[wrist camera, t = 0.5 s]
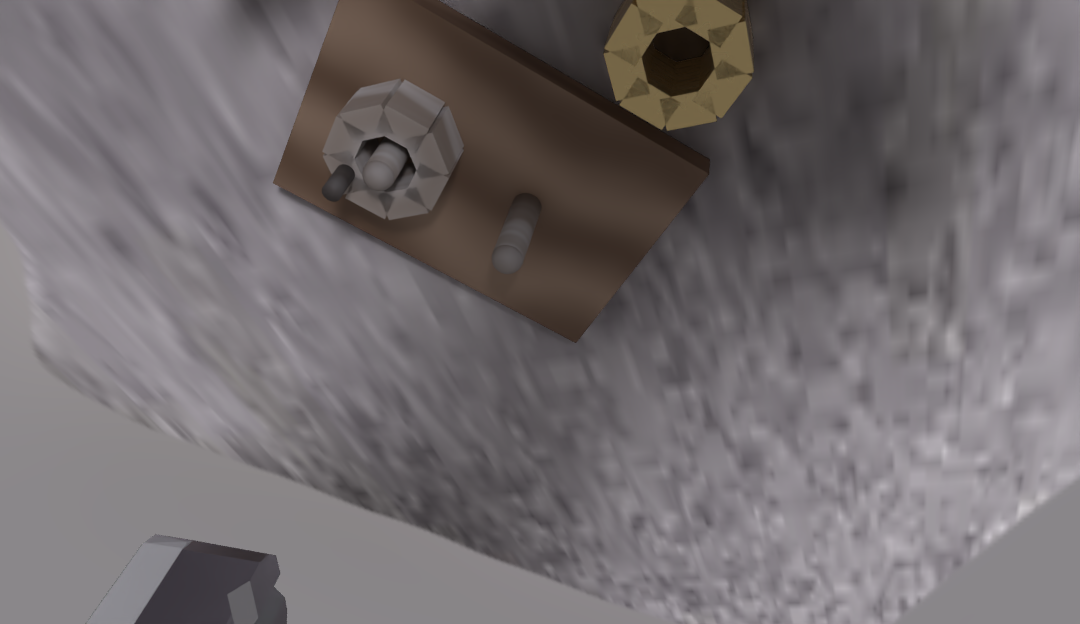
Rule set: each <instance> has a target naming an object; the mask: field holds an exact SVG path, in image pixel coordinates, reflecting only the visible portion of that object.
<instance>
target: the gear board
mask: <svg viewBox="0 0 1080 624" xmlns="http://www.w3.org/2000/svg"><path fill="white" fill-rule="evenodd" d="M709 167H710V160H709V159H708V158H706V157H704V156H703V155H701V154H699V153H698V152H696V151H694V150H692V149H691V148H689V147H687V146H686V145H684V144H682V143H680V142H679V141H677V140H675V139H674V138H672V137H670V136H669V135H667V134H665V133H663V132H662V131H660V130H658V129H657V128H655V127H653V126H652V125H650V124H648V123H646V122H645V121H643V120H641V119H640V118H638V117H636V116H635V115H633V114H631V113H629V112H628V111H626V110H624V109H623V108H621V107H619V106H617V105H616V104H614V103H612V102H611V101H609V100H607V99H606V98H604V97H602V96H600V95H599V94H597V93H595V92H594V91H592V90H590V89H589V88H587V87H585V86H583V85H582V84H580V83H578V82H577V81H575V80H573V79H572V78H570V77H568V76H566V75H565V74H563V73H561V72H560V71H558V70H556V69H554V68H553V67H551V66H549V65H548V64H546V63H544V62H543V61H541V60H539V59H537V58H536V57H534V56H532V55H531V54H529V53H527V52H526V51H524V50H522V49H520V48H519V47H517V46H515V45H514V44H512V43H510V42H509V41H507V40H505V39H503V38H502V37H500V36H498V35H497V34H495V33H493V32H492V31H490V30H488V29H486V28H485V27H483V26H481V25H480V24H478V23H476V22H474V21H473V20H471V19H469V18H468V17H466V16H464V15H463V14H461V13H459V12H457V11H456V10H454V9H452V8H451V7H449V6H447V5H446V4H444V3H442V2H440V1H439V0H339V1H338V4H337V7H336V10H335V12H334V15H333V18H332V21H331V23H330V26H329V29H328V32H327V34H326V37H325V40H324V43H323V46H322V48H321V51H320V54H319V57H318V59H317V62H316V65H315V68H314V71H313V73H312V76H311V79H310V82H309V84H308V87H307V90H306V93H305V95H304V98H303V101H302V104H301V107H300V109H299V112H298V115H297V118H296V120H295V123H294V126H293V129H292V132H291V134H290V137H289V140H288V143H287V145H286V148H285V151H284V154H283V157H282V159H281V162H280V165H279V168H278V170H277V173H276V176H275V179H274V181H273V183H274V184H276V185H278V186H279V187H281V188H283V189H285V190H287V191H289V192H291V193H293V194H295V195H296V196H298V197H300V198H302V199H304V200H306V201H308V202H310V203H312V204H313V205H315V206H317V207H319V208H321V209H323V210H325V211H327V212H329V213H331V214H332V215H334V216H336V217H338V218H340V219H342V220H344V221H346V222H348V223H349V224H351V225H353V226H355V227H357V228H359V229H361V230H363V231H365V232H366V233H368V234H370V235H372V236H374V237H376V238H378V239H380V240H382V241H384V242H385V243H387V244H389V245H391V246H393V247H395V248H397V249H399V250H401V251H402V252H404V253H406V254H408V255H410V256H412V257H414V258H416V259H418V260H420V261H421V262H423V263H425V264H427V265H429V266H431V267H433V268H435V269H437V270H438V271H440V272H442V273H444V274H446V275H448V276H450V277H452V278H454V279H455V280H457V281H459V282H461V283H463V284H465V285H467V286H469V287H471V288H473V289H474V290H476V291H478V292H480V293H482V294H484V295H486V296H488V297H490V298H491V299H493V300H495V301H497V302H499V303H501V304H503V305H505V306H507V307H509V308H510V309H512V310H514V311H516V312H518V313H520V314H522V315H524V316H526V317H527V318H529V319H531V320H533V321H535V322H537V323H539V324H541V325H543V326H544V327H546V328H548V329H550V330H552V331H554V332H556V333H558V334H560V335H562V336H563V337H565V338H567V339H569V340H571V341H573V342H575V343H576V342H577V341H578V340H579V338H580V337H581V336H582V335H583V333H584V332H585V331H586V330H587V328H588V327H589V326H590V325H591V323H592V322H593V321H594V319H595V318H596V317H597V316H598V314H599V313H600V312H601V311H602V309H603V308H604V307H605V306H606V304H607V303H608V302H609V300H610V299H611V298H612V297H613V295H614V294H615V293H616V292H617V290H618V289H619V288H620V286H621V285H622V284H623V283H624V281H625V280H626V279H627V278H628V276H629V275H630V274H631V273H632V271H633V270H634V269H635V267H636V266H637V265H638V264H639V262H640V261H641V260H642V259H643V257H644V256H645V255H646V253H647V252H648V251H649V250H650V248H651V247H652V246H653V245H654V243H655V242H656V241H657V240H658V238H659V237H660V236H661V234H662V233H663V232H664V231H665V229H666V228H667V227H668V226H669V224H670V223H671V222H672V221H673V219H674V218H675V217H676V215H677V214H678V213H679V212H680V210H681V209H682V208H683V207H684V205H685V204H686V203H687V201H688V200H689V199H690V198H691V196H692V195H693V194H694V193H695V191H696V190H697V189H698V188H699V186H700V185H701V184H702V182H703V181H704V180H705V179H706V177H707V176H708V175H709Z"/></svg>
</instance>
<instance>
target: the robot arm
mask: <svg viewBox="0 0 1080 624" xmlns="http://www.w3.org/2000/svg"><path fill="white" fill-rule="evenodd" d="M279 575H280V570H279V566H278V562H277V558H276V555H271V554H266V553H260V552H254V551H249V550H243V549H238V548H232V547H227V546H221V545H216V544H210V543H205V542H198V541H194V540H188V539H182V538H176V537H170V536H163V535H157V534H155V535H154V536H152V537H151V538H150V539H148V540H147V541H146V542H144V543H143V544H142V545H141V546H140V548H139V549H138V550H137V552H136V554H135V555H134V556H133V557H132V559H131V560H130V562H129V563H128V564H127V566H126V567H125V569H124V570H123V572H122V573H121V574H120V576H119V577H118V579H117V580H116V581H115V583H114V584H113V585H112V587H111V588H110V590H109V591H108V593H107V594H106V595H105V597H104V598H103V600H102V601H101V602H100V604H99V605H98V607H97V608H96V609H95V611H94V612H93V614H92V615H91V616H90V618H89V619H88V621H87V622H86V623H85V624H287V608H286V601H285V597H284V596H283V595H282V594H281V593H280V592H279V591H278V590H277V589H276V588H275V587H274V585H275V583H276V581H277V579H278V577H279Z"/></svg>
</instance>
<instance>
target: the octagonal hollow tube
mask: <svg viewBox="0 0 1080 624" xmlns="http://www.w3.org/2000/svg"><path fill="white" fill-rule="evenodd" d="M682 27H686V28H688V29H690V30H691V31H693V32H695V33H696V34H698V35H699V36H701V37H703V38H704V39H706V40H708V41H709V42H710V45H709V47H708V48H707V50H706V51H705V53H704V54H703V55H702V56H701V57H697V58H692V59H688V60H683V61H678V62H676V61H674V60H672V59H671V58H669V57H667V56H666V55H664V54H662V53H661V52H659V51H657V50H656V49H655V48H654V43H653V38H654V37H655V35H656V34H657V33H660V32H665V31H669V30H673V29H678V28H682ZM604 48H605V50H604V53H603V54H604V58H605V61H606V65H607V69H608V73H609V76H610V80H611V84H612V88H613V91H614V95H615V99H616V101H618V100H620V104H619V105H620V106H622V107H623V108H625V109H627V110H628V111H630V112H632V113H633V114H635V115H637V116H639V117H640V118H642V119H644V120H645V121H647V122H649V123H650V124H652V125H654V126H656V127H657V128H659V129H661V130H662V129H663V127H664V126H665V125H666V129H667V131H669V130H674V129H680V128H685V127H690V126H695V125H700V124H705V123H711V122H716V121H717V116H718V117H720V118H722V117H723V116H724V115H725V113H726V112H727V111H728V109H729V108H730V107H731V105H732V104H733V103H734V101H735V100H736V99H737V97H738V96H739V95H740V93H741V92H742V91H743V89H744V88H745V87H746V86H747V84H748V83H749V82H750V80H751V79H752V78H753V77H752V73H753V72H754V55H753V34H752V28H751V22H750V15H749V9H748V3H747V0H624V1H623V3H622V5H621V6H620V8H619V10H618V11H617V13H616V15H615V16H614V20H613V23H612V26H611V29H610V32H609V35H608V38H607V41H606V44H605V47H604Z"/></svg>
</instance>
